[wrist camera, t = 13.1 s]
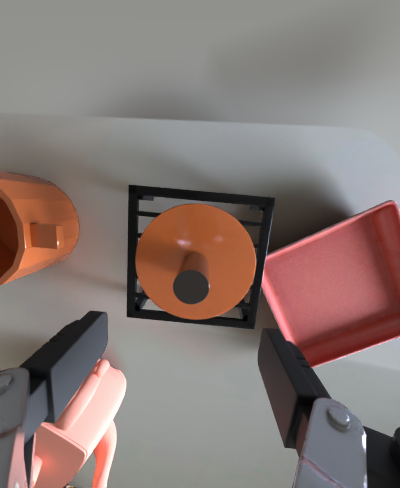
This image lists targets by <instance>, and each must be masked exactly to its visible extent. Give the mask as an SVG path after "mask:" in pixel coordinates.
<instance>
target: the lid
mask: <svg viewBox="0 0 400 488" xmlns="http://www.w3.org/2000/svg"><path fill="white" fill-rule="evenodd" d="M135 263H136V271H137V276H138V279H139V282H140V284H141V286H142V288H143V290H144V291H145V293H146V294H147V296H148V297H149V298H150V299H151V300H152V301H153V302H154V303H155V304H156V305H157V306H158V307H160V308H161V309H162V310H164V311H166V312H168V313H170V314H172V315H174V316H177V317H181V318H186V319H197V320H198V319H207V318H212V317H215V316H218V315H221V314H223V313H225V312H227V311H229V310H230V309H232V308H233V307H234V306H235V305H237V304H238V303H239V302H240V301H241V300H242V299H243V297H244V296H245V295H246V293H247V292H248V290H249V288H250V286H251V284H252V281H253V279H254V275H255V269H256V255H255V250H254V246H253V243H252V240H251V238H250V236H249V234H248V233H247V231H246V230H245V228H244V227H243V226H242V225H241V223H240V222H239V221H238V220H237V219H235V218H234V217H233V216H232V215H230V214H229V213H227V212H225V211H224V210H221V209H219V208H217V207H214V206H210V205H205V204H184V205H180V206H176V207H173V208H171V209H168V210H166V211H165V212H163V213H161V214H160V215H158V216H157V217H156V218H155V219H154V220H153V221H152V222H151V223H150V224H149V225H148V226H147V227H146V229H145V230H144V232H143V234H142V235H141V237H140V240H139V243H138V246H137V250H136V258H135Z"/></svg>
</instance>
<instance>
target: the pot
mask: <svg viewBox="0 0 400 488" xmlns="http://www.w3.org/2000/svg"><path fill="white" fill-rule="evenodd" d="M78 236H79V220H78V216H77V213H76V210H75V208H74V206H73V204H72V202H71V201H70V199H69V198H68V197H67V196H66V194H65V193H64V192H63V191H62V190H61V189H59V188H58V187H57V186H55V185H54V184H52V183H50V182H48V181H46V180H44V179H41V178H39V177H34V176H28V175H22V174H16V173H10V172H3V171H0V285H3V284H5V283H8V282H10V281H13V280H15V279H18V278H21V277H23V276H26V275H28V274H31V273H33V272H36V271H38V270H41V269H43V268H46V267H48V266H51V265H53V264H56V263H59V262H60V261H61V260H63V259H65V258H66V257H67V256H68V255H69V254H70V253H71V252H72V250H73V249H74V247H75V245H76V243H77V240H78Z"/></svg>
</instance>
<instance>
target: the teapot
mask: <svg viewBox="0 0 400 488" xmlns="http://www.w3.org/2000/svg"><path fill="white" fill-rule="evenodd" d="M125 390H126V378H125V377H124V376H123V373H122V372H121V371H120V370H118V369H114V368H113V367H111V366H110V364H109V362H108V361H107V360H105V359H99V360H98V361H97V363H96V364H95V365H94V367H93V368H92V370H91V371H90V373H89V374H88V376H87V377H86V379H85V380H84V382H83V383H82V385H81V386H80V387H79V389H78V390H77V392H76V393H75V395H74V396H73V398H72V399H71V401H70V402H69V404H68V405H67V407H66V408H65V409H64V411H63V412H62V414H61V415H60V417H59V418H58V420H57V421H56V423H46V422H42V424H41V425H40V426H39V428H38V429H37V430H36V442H35V455H34V468H33V481H32V488H63V487H64V486H65V485H66V484H68V483H69V482H70V480H71V479H72V478H73V477H74V476H75V474H76V473H77V472H78V471H79V469H80V468H81V467H82V465H83V464H84V463H85V461H86V460H87V458H88V457H89V456H90V454H91V453H92V451H94V454H95V458H96V469H95V474H94V479H93V484H92V488H106V487H107V479H108V474H109V470H110V467H111V463H112V459H113V456H114V451H115V447H116V428H115V425H114V422H113V418H114V416H115V414H116V412H117V410H118V408H119V406H120V404H121V402H122V400H123V398H124V394H125Z"/></svg>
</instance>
